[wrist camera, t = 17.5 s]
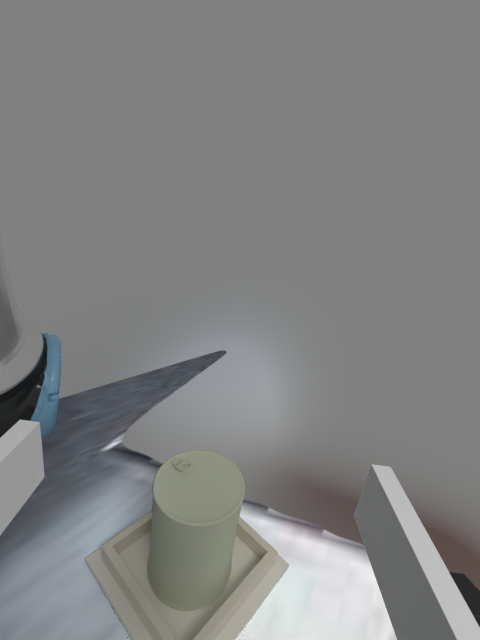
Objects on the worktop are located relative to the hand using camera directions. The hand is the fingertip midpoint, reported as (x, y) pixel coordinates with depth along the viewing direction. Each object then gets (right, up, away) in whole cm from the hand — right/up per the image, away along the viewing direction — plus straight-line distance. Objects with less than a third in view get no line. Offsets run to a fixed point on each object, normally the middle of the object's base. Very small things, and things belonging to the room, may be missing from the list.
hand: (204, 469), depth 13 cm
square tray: (-4, -21, +23) cm, 32 cm away
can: (-4, -21, +23) cm, 31 cm away
